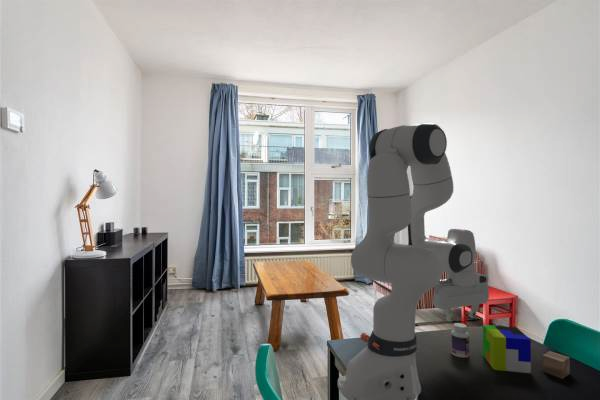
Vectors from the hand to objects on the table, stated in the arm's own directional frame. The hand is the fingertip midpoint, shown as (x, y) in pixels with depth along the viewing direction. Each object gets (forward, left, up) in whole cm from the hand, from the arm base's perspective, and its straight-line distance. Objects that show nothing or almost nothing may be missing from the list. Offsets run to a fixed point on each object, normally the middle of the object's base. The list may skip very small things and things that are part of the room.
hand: (461, 318), depth 114 cm
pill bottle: (-1, 0, -12) cm, 12 cm away
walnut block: (+17, -19, -12) cm, 28 cm away
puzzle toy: (+8, -10, -12) cm, 17 cm away
